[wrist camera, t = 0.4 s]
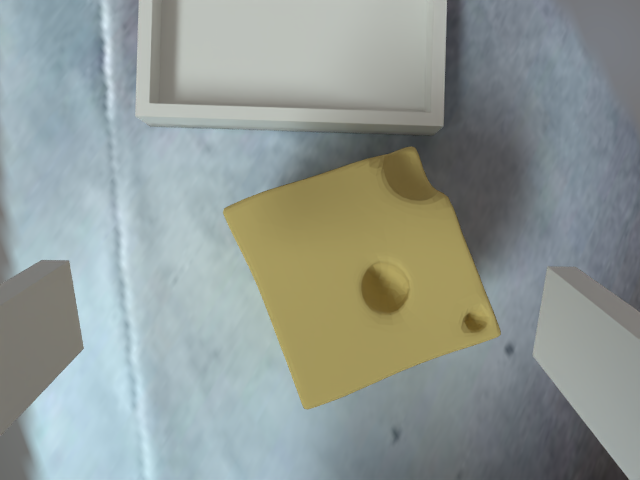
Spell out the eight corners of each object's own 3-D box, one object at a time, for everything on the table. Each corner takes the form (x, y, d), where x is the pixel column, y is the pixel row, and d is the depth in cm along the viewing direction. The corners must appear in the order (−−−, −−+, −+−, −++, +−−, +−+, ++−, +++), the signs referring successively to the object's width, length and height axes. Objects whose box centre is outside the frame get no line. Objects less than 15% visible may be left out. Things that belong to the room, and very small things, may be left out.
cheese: (393, 161, 31) (433, 122, 21) (450, 313, 31) (517, 348, 21) (246, 216, 31) (213, 203, 21) (303, 369, 31) (298, 430, 21)
